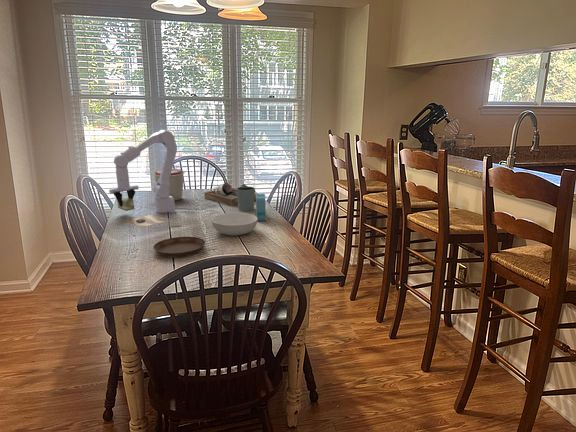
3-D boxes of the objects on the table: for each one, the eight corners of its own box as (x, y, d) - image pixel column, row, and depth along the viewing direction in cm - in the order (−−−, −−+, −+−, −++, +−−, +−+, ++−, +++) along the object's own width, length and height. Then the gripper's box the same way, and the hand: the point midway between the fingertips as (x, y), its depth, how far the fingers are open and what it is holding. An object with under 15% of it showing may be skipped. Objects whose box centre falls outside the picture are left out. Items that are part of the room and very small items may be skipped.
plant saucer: (144, 251, 178) (143, 243, 177) (188, 239, 192) (187, 232, 191) (170, 264, 164) (170, 256, 163) (215, 251, 178) (215, 243, 177)
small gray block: (142, 220, 215) (142, 218, 215) (145, 221, 213) (144, 219, 213) (136, 221, 213) (136, 219, 213) (139, 223, 211) (139, 221, 211)
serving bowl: (221, 242, 188) (220, 227, 186) (206, 230, 206) (205, 215, 204) (265, 235, 197) (264, 220, 195) (247, 224, 215) (247, 210, 213)
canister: (173, 194, 277) (170, 161, 272) (192, 198, 267) (190, 164, 261) (149, 200, 263) (146, 165, 258) (168, 204, 253) (166, 168, 247)
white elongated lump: (212, 199, 265) (211, 183, 262) (219, 196, 274) (219, 180, 271) (249, 202, 256) (249, 186, 254) (256, 199, 265) (256, 183, 263)
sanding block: (126, 206, 228) (125, 196, 227) (134, 209, 222) (133, 199, 221) (118, 207, 225) (116, 198, 224) (126, 210, 219) (124, 201, 218)
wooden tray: (228, 193, 280) (228, 187, 279) (256, 200, 262) (255, 193, 261) (204, 198, 267) (204, 192, 266) (231, 205, 249) (231, 199, 248)
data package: (265, 221, 218) (265, 198, 215) (256, 222, 218) (256, 198, 215) (265, 215, 230) (264, 193, 226) (256, 215, 229) (256, 193, 226)
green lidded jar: (234, 210, 239) (233, 189, 236) (242, 206, 248) (242, 185, 245) (250, 212, 236) (249, 190, 233) (258, 207, 245) (258, 186, 242)
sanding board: (153, 217, 227) (152, 214, 227) (170, 223, 215) (169, 220, 215) (125, 223, 217) (125, 220, 216) (141, 230, 205) (141, 227, 205)
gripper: (132, 176, 227) (135, 201, 231) (105, 180, 217) (108, 206, 221) (139, 177, 222) (141, 203, 226) (111, 182, 212) (114, 208, 216)
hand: (125, 205), depth 223 cm, fingers closed on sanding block, 4 cm apart
